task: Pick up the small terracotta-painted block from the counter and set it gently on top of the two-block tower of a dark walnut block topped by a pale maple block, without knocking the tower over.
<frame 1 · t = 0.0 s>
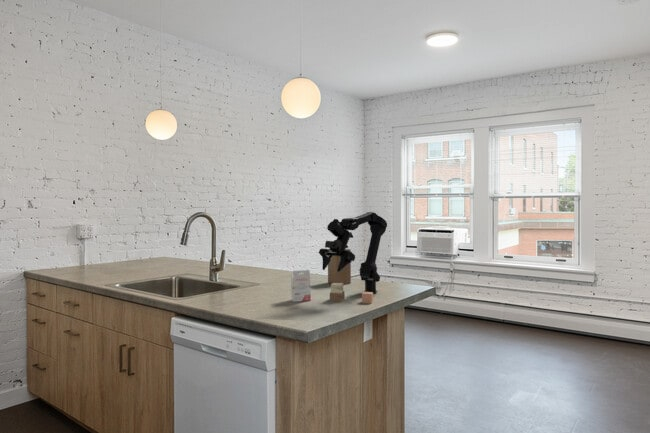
hand: (330, 270, 218), 15 cm above the worktop, tool tilted 35°, fingers open, 9 cm apart
tower middle: (337, 292, 223), point 4 cm above the worktop, touching tower base
terracotta block: (367, 302, 217), on the worktop
ink cartridge box: (300, 300, 223), on the worktop
tower base: (337, 300, 223), on the worktop, touching tower middle
wooden block: (339, 283, 272), on the worktop
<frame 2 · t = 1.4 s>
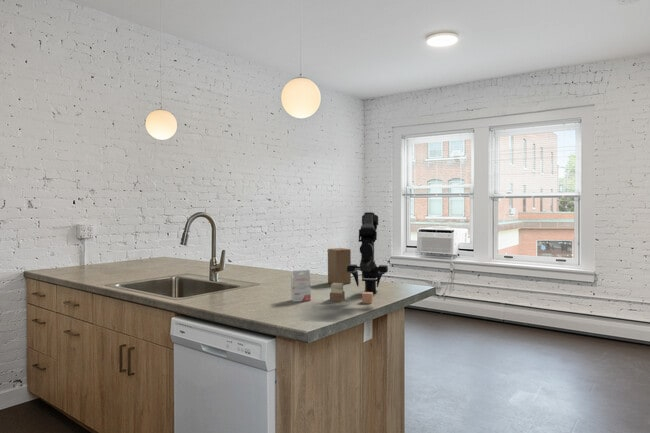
hand: (367, 286, 217), 7 cm above the worktop, tool pointing down, fingers open, 9 cm apart
nothing on the worktop moved.
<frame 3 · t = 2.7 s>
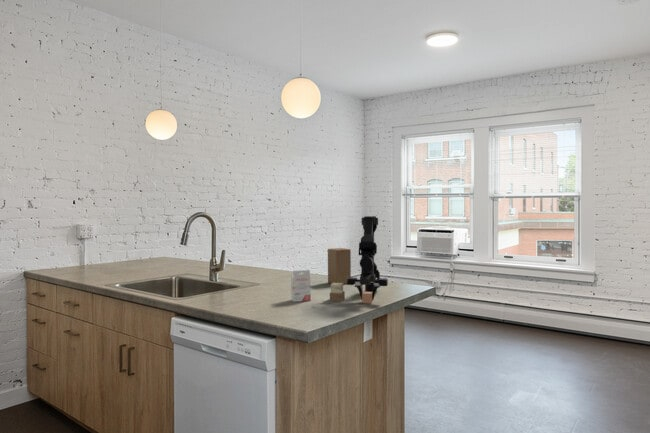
hand: (367, 300, 217), 1 cm above the worktop, tool pointing down, fingers closed on terracotta block, 4 cm apart
terracotta block: (367, 302, 217), on the worktop, touching gripper
everything else where it was.
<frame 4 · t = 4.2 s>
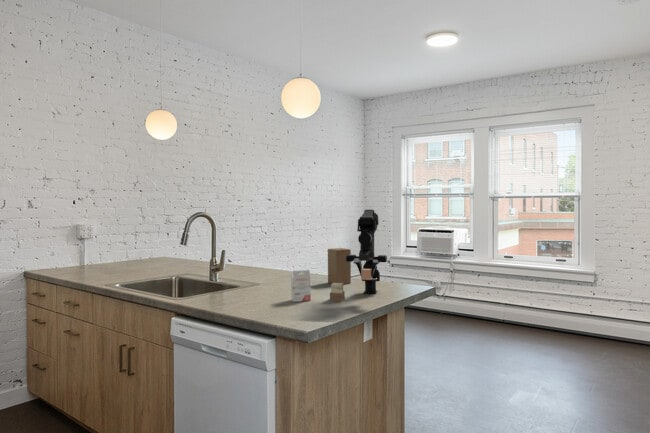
hand: (366, 276, 217), 12 cm above the worktop, tool pointing down, fingers closed on terracotta block, 4 cm apart
terracotta block: (366, 279, 217), point 11 cm above the worktop, touching gripper
everything else where it was.
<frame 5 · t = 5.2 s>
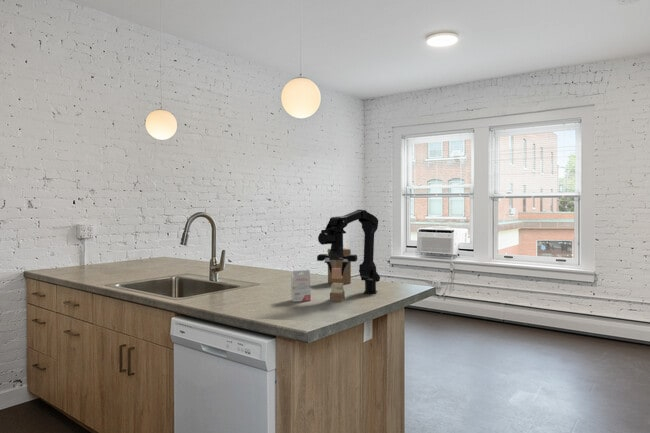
hand: (337, 275, 223), 12 cm above the worktop, tool pointing down, fingers closed on terracotta block, 4 cm apart
terracotta block: (337, 277, 223), point 11 cm above the worktop, touching gripper
everything else where it was.
when the fingers open (10 cm above the worktop, at t = 5.8 s): terracotta block drops 1 cm, resting on tower middle.
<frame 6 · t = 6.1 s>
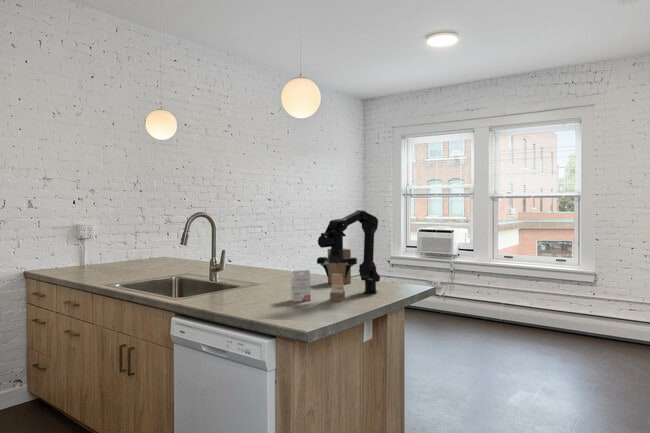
hand: (337, 278, 223), 10 cm above the worktop, tool pointing down, fingers open, 8 cm apart
tower middle: (337, 292, 223), point 4 cm above the worktop, touching terracotta block, tower base
terracotta block: (337, 283, 223), point 8 cm above the worktop, touching tower middle
everything else where it was.
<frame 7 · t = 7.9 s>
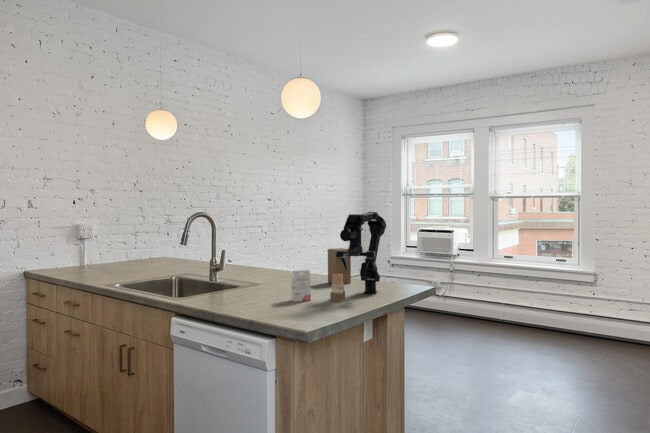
hand: (355, 271, 228), 13 cm above the worktop, tool pointing down, fingers open, 9 cm apart
nothing on the worktop moved.
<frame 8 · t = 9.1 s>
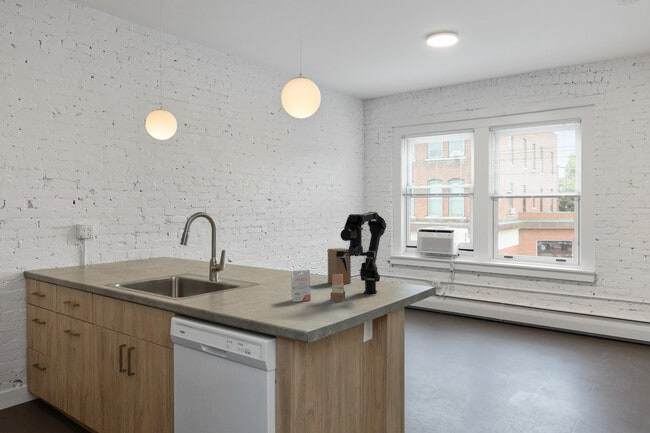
hand: (355, 271, 228), 13 cm above the worktop, tool pointing down, fingers open, 9 cm apart
nothing on the worktop moved.
at the end: terracotta block 0.2 cm off-centre on the tower middle, point 4.0 cm above the tower middle's base; tower middle 0.1 cm off-centre on the tower base, point 4.0 cm above the tower base's base; tower base moved 0.4 cm from its start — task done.
